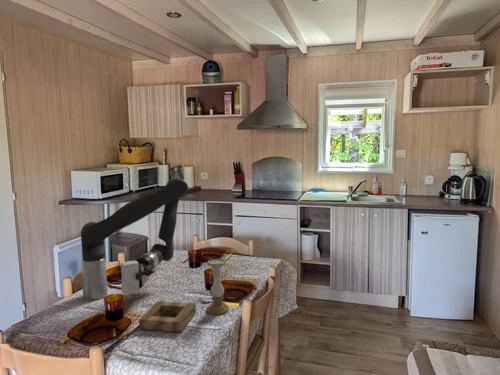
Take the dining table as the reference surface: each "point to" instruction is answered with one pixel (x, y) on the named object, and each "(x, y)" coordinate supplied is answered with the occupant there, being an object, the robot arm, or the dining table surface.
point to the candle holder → (217, 289)
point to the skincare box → (129, 277)
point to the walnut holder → (167, 317)
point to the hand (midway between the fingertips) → (127, 276)
